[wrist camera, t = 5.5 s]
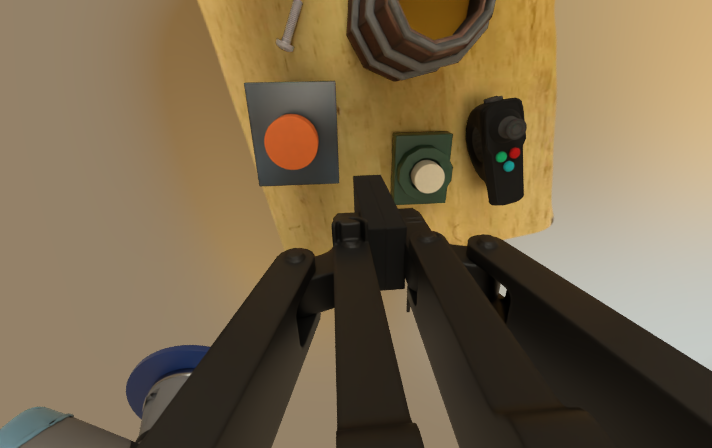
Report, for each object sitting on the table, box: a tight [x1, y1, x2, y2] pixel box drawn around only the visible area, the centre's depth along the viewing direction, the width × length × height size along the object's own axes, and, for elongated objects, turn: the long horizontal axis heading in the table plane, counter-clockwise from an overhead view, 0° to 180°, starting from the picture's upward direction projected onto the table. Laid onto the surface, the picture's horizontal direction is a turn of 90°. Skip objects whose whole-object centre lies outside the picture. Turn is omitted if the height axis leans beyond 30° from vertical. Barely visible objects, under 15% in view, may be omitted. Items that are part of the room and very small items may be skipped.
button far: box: [411, 160, 445, 193], centre depth 38 cm, size 4×4×2 cm
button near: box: [264, 114, 319, 170], centre depth 22 cm, size 4×4×2 cm
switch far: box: [391, 131, 453, 205], centre depth 41 cm, size 9×7×4 cm
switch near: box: [244, 81, 339, 186], centre depth 31 cm, size 8×6×16 cm
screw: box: [276, 0, 303, 52], centre depth 34 cm, size 2×5×2 cm, turn 156°
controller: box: [466, 96, 526, 205], centre depth 37 cm, size 4×12×10 cm, turn 16°
